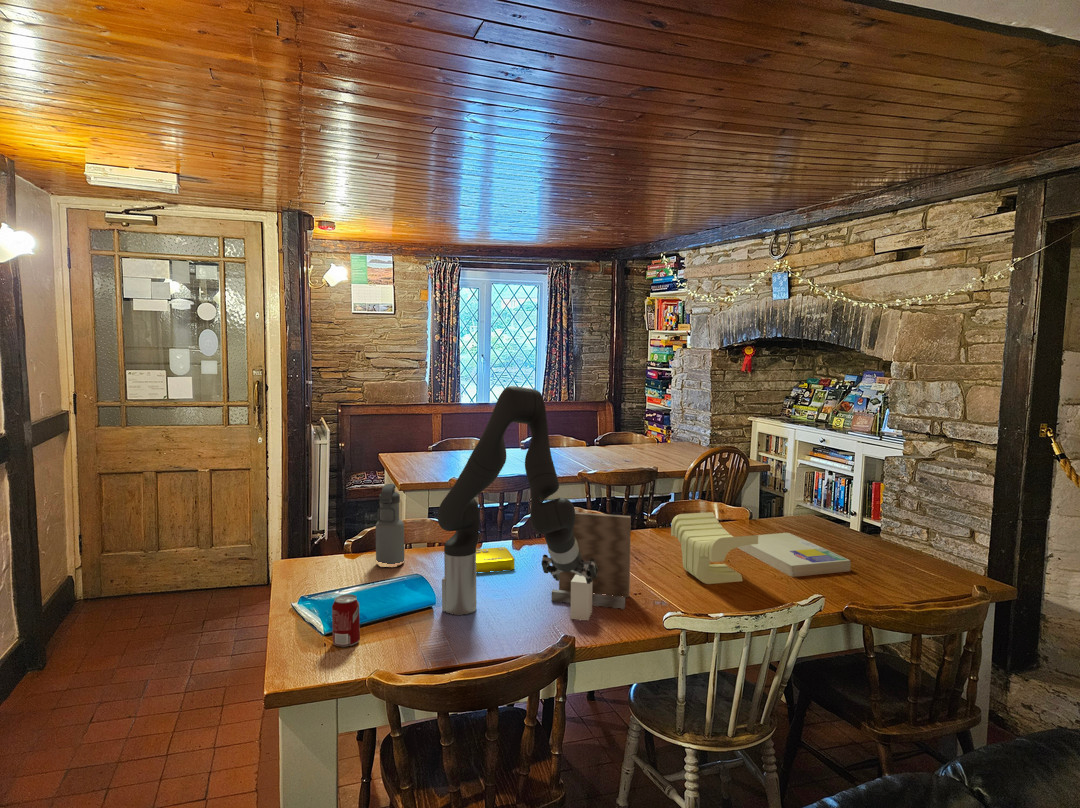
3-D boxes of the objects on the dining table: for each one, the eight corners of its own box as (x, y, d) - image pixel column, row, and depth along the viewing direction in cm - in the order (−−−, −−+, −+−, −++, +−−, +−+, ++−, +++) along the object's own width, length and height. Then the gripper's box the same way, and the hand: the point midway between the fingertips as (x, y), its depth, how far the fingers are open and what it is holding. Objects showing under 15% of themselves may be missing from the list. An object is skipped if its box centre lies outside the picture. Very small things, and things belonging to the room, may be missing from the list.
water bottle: (400, 569, 234) (399, 489, 231) (372, 569, 234) (371, 488, 232) (407, 559, 244) (406, 483, 242) (380, 559, 244) (378, 482, 242)
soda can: (349, 650, 172) (348, 604, 171) (327, 646, 175) (326, 600, 173) (365, 639, 178) (364, 595, 177) (344, 635, 181) (343, 591, 180)
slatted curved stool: (670, 563, 241) (671, 514, 240) (711, 560, 245) (712, 512, 243) (710, 594, 212) (712, 538, 211) (756, 590, 216) (758, 535, 214)
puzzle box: (788, 543, 269) (733, 547, 263) (788, 532, 268) (734, 535, 262) (851, 573, 234) (790, 579, 228) (852, 560, 234) (790, 565, 228)
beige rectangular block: (570, 619, 192) (570, 581, 191) (575, 611, 198) (575, 574, 197) (587, 621, 191) (588, 583, 190) (592, 613, 197) (592, 576, 196)
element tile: (472, 575, 230) (472, 561, 229) (465, 561, 244) (465, 548, 244) (515, 571, 234) (515, 557, 233) (506, 558, 248) (506, 545, 248)
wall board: (551, 601, 206) (552, 520, 203) (560, 588, 217) (561, 511, 214) (624, 609, 200) (625, 525, 198) (629, 595, 211) (630, 516, 209)
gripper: (594, 538, 171) (601, 568, 183) (539, 534, 175) (550, 564, 187) (589, 566, 167) (597, 594, 179) (533, 560, 170) (545, 589, 182)
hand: (573, 579), depth 183 cm, fingers open, 8 cm apart
